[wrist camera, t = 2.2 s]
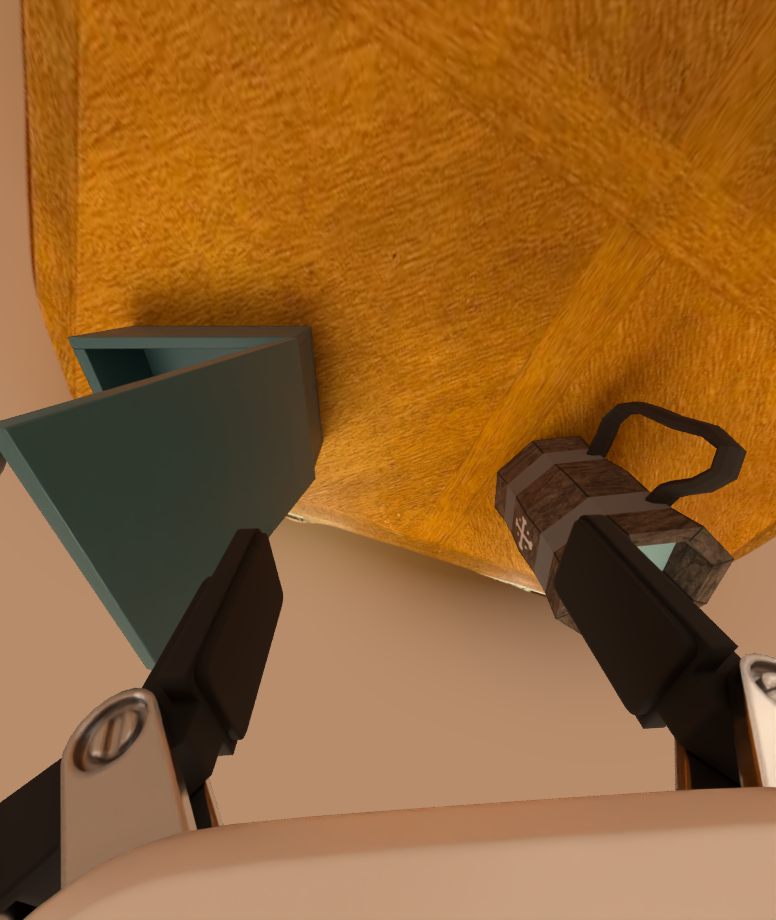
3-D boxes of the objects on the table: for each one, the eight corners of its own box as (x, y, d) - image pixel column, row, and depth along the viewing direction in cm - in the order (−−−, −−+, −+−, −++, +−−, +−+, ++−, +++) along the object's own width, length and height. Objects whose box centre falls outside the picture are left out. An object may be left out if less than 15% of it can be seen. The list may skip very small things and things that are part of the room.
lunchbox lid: (146, 669, 14) (161, 673, 14) (-20, 425, 8) (4, 428, 8) (307, 477, 28) (315, 478, 27) (287, 337, 22) (297, 338, 22)
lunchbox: (175, 443, 33) (132, 478, 27) (132, 325, 28) (66, 337, 22) (323, 441, 34) (312, 475, 28) (310, 325, 28) (294, 336, 22)
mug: (565, 536, 42) (651, 649, 29) (473, 516, 40) (522, 629, 27) (666, 400, 33) (858, 475, 20) (556, 364, 31) (690, 422, 18)
